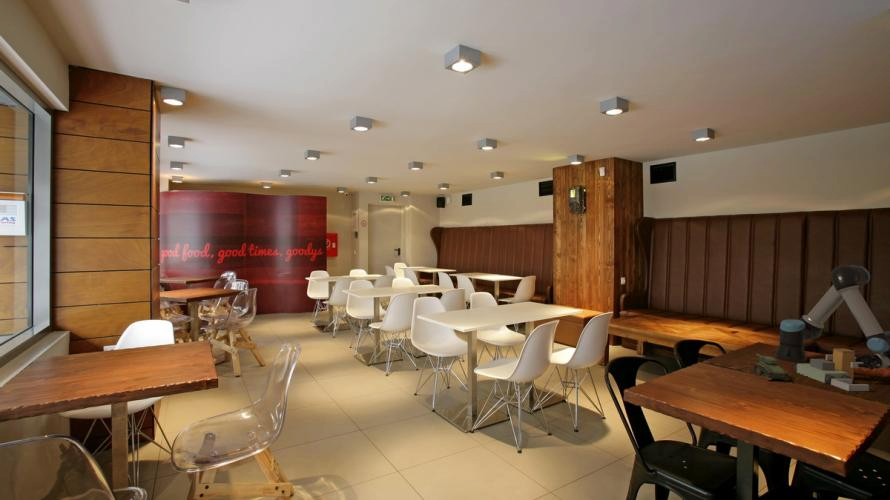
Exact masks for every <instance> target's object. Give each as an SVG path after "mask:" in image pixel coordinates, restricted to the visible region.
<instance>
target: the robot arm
mask: <svg viewBox="0 0 890 500" xmlns="http://www.w3.org/2000/svg"><path fill="white" fill-rule="evenodd" d="M870 279H871V274H870V272H869V270H867V268H865V267H864V266H860V265H854V264H853V265H839V266H836V267H835V268H833V269H832V270H831V272H830V281H831V282H832V285H831V286H830V287H829V289H828V290H827V291H826V292H825V293H824V295H823V296H822V297H821V298H820V300H819V301H818V302H817V303H816V304H815V305H814V307H813V308H812V309H811V310H810V311H809V312H808V314H803V315H802V316H801V317H800V318H799V319H784V320H782V321H781V322H780V326H779V341H778V343H779V345H778V347H777V349H776V351H775V353H774V357H775V358H777V359H780V360H783V361H786V362H787V361H788V362H795V363H806V362H807V358H808V357H807V355H806V352H805V348H804V347H805V346H804V345H805V341H814V340H816V339H818V338H820V336H821V335H822V333H823V329H824V328H825V325H824V324H825V322H826V321H827V320H828V319H829V318H830V316H831V315H832V314H833V313H834V312H835V311H836V309H837V308H839V306H840V305H841V304H842V303H843V302H845V303H846V305H847V307H848V308H849V311H850V312H851V314H852V315H853V317H854V318H855V320H856V322H857V324H858V325H859V327H860V330H862V332H863V334H864V336H865V338H866V340H867V341H866V346H867V348H868V349H869V350H870V351H872V352H874V353H865V354H864V355H862V356H860V355H858V356H857V355H855V361H854V362H851V368H854V369H858V368H859V369H864V368H865V369H869V370H874V369H877V370H881V369H890V330H889V331H884V330H883V328H882V327H881V325H880V323H879V321H878V320H877V318H876V316H875V315H874V314H873V312H872V310H871V308H870V307H869V305H868V303H867V302H866V300H865V299H864V297H863V295H862V293H861V292H860V290H859V288H861V287H862V286H865V285H866V284H868V283H869V281H870ZM825 360H828V361H833V354H825Z"/></svg>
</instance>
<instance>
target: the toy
mask: <svg viewBox="0 0 890 500" xmlns="http://www.w3.org/2000/svg"><path fill="white" fill-rule="evenodd" d="M755 355H756V357H758V358H759V362H755V364H756V365H754V366H753V371H754V372H753V373H754V374H755V375H756V374H758V375H761V376H765V377H768V378H772V379H773V380H777V379H779V380H780V381H782V380H784V381H783V382H786V381H788V382H790V376H789V372H787V371H786V370H785V369H784V368H782V366H780V365H779V364H778V359H776V358H774V357H772V356H766V355H761V354H759V353H756V354H755ZM758 375H757V376H758ZM779 380H778V381H779Z"/></svg>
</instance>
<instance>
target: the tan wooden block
mask: <svg viewBox="0 0 890 500" xmlns="http://www.w3.org/2000/svg"><path fill="white" fill-rule="evenodd" d="M832 355H833V360H832V362H834V363H835V369H837V370H840V371H843V372H846V373H849V374H848V376H849V377H851V379H852V380H854V375H855V368H851V362H854V361H855V362H856V359H855V356H856V351H855V350H851V349H848V348H833V351H832Z"/></svg>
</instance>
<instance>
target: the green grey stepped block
mask: <svg viewBox="0 0 890 500" xmlns="http://www.w3.org/2000/svg"><path fill="white" fill-rule="evenodd" d="M793 370H794V371H795V372H796V373H797V374H799V373H800V374H799V375H802V374H803V375H802V376H804V377H805V376H806V377H807V376H808V378H811V379H813V380H816V381H818V382H821V383H823V384H830V385H831V386H834V387H837V388H838V389H842V390H845V391H847V392H869V391H870V384H868V383H867V384H866V383H865V384H864V383H863V384H862V383H861V384H859V383H858V384H856V383H853V379H851V377H849V376H848V374H849V373H846V372H843V371H840V370H837V369H835V363H834V362H833V361H832V360H826V359H824V358H810V361H809V363H797V364H795V365H794V367H793Z"/></svg>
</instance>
